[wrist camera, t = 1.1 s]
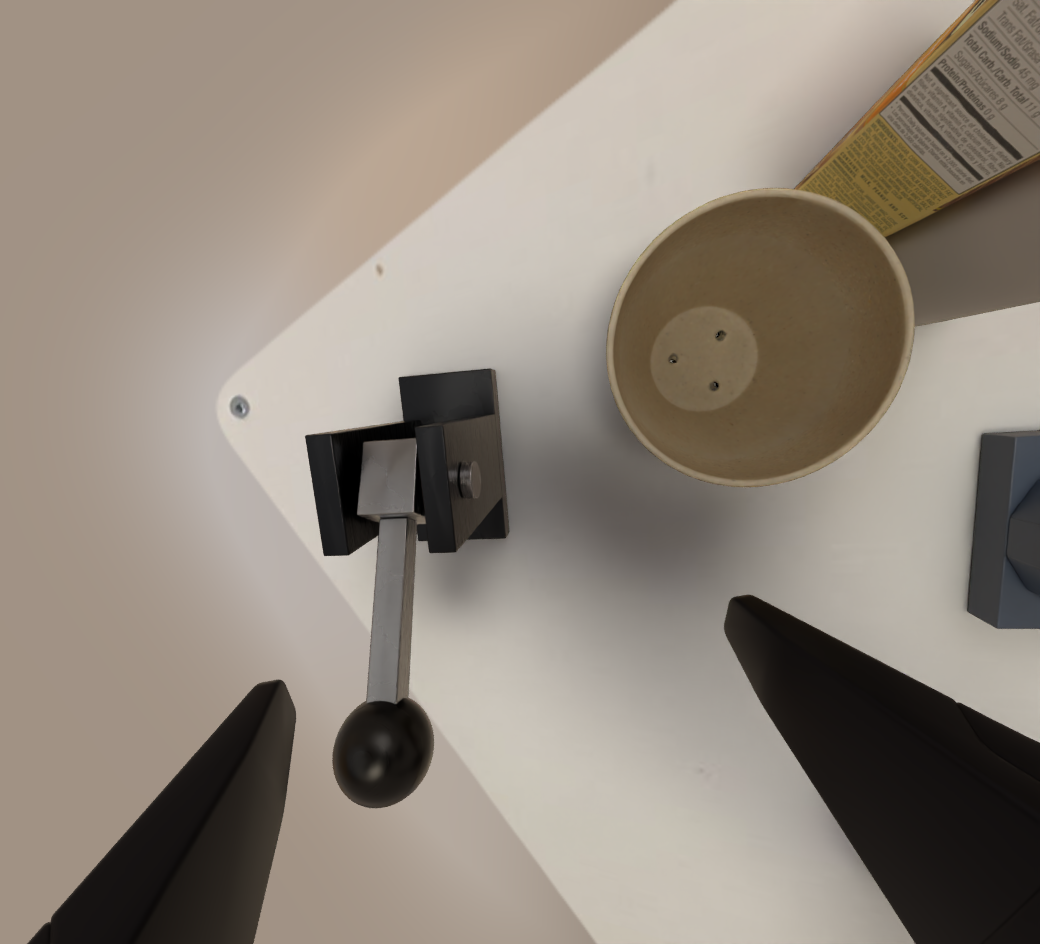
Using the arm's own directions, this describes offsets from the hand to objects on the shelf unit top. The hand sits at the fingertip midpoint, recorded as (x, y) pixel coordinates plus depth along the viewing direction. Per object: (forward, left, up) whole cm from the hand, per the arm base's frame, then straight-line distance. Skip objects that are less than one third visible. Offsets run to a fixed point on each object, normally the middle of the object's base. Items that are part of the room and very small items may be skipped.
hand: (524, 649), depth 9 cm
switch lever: (-3, +6, -7) cm, 10 cm away
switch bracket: (+2, +6, -16) cm, 17 cm away
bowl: (+6, -7, -16) cm, 19 cm away
